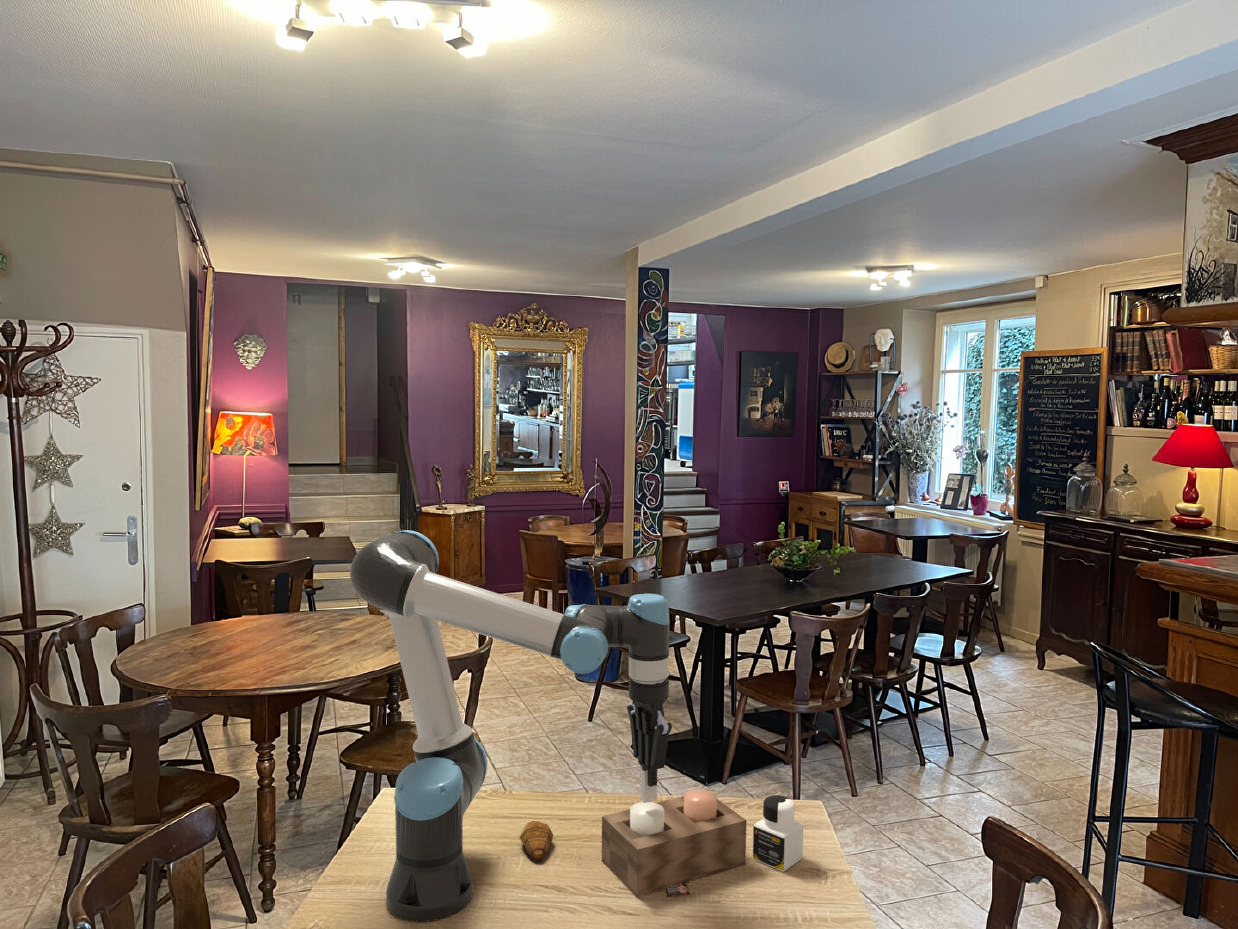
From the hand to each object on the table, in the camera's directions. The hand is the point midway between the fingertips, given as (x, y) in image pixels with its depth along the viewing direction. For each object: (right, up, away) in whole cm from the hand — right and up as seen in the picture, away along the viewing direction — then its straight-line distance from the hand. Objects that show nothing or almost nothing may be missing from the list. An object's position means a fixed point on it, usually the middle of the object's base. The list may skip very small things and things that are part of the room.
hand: (648, 799), depth 166 cm
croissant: (-22, -13, +10) cm, 28 cm away
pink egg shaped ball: (+10, -10, +6) cm, 15 cm away
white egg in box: (0, -10, +1) cm, 10 cm away
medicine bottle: (+25, -14, +6) cm, 30 cm away
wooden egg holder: (+5, -14, +4) cm, 15 cm away
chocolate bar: (+4, -15, -2) cm, 16 cm away
